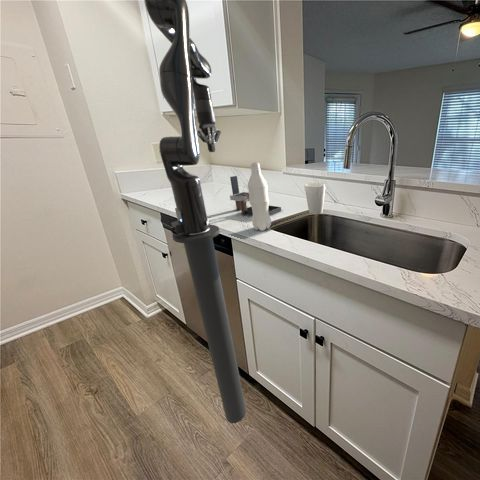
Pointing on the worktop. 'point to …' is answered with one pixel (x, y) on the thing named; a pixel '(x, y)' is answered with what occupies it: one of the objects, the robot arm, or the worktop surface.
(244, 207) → the cradle
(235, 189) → the gray angle bracket
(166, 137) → the robot arm
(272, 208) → the tray
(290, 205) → the worktop surface
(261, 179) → the water bottle
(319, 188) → the foam cup
